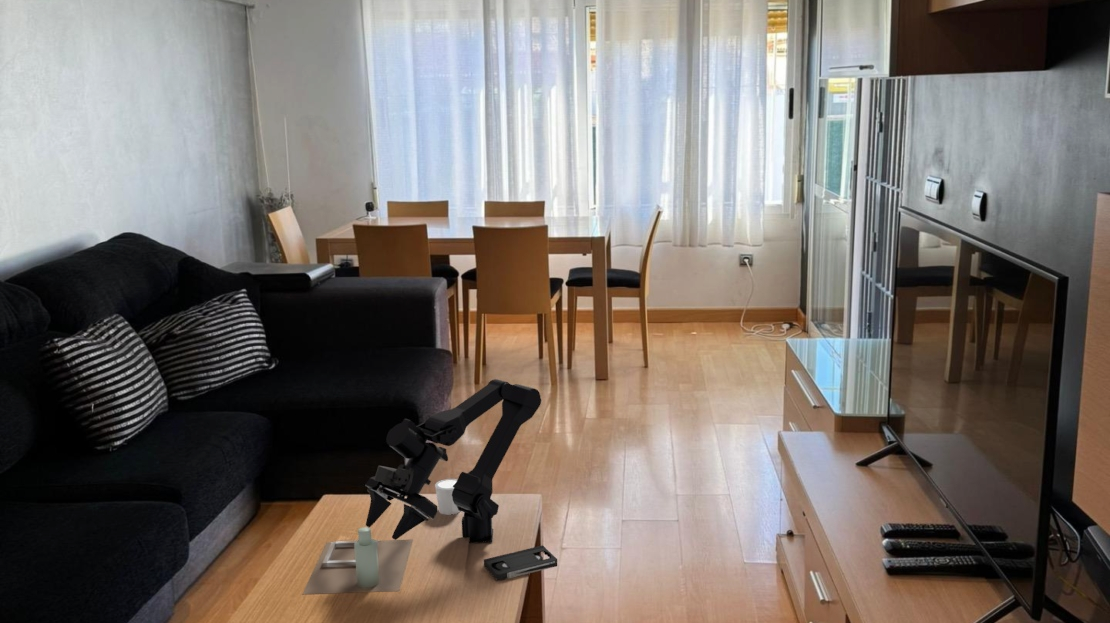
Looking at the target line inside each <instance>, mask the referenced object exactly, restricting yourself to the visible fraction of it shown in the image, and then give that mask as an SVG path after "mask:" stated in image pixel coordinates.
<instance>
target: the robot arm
mask: <svg viewBox="0 0 1110 623" xmlns="http://www.w3.org/2000/svg"><path fill="white" fill-rule="evenodd" d="M501 402H502V403H501ZM499 403H501V417H500V419H499V421H498V423H497V424H496V426H495V428H494V430H493V432H492V434H491V436H490V437H489V439H488V441H487V443H486V445H485V447H484V449H483V451H482V452H481V454H480V456H479V458H478V460H477V462H476V463H475V466H474V467H473V469H472V470H470V471H468V472H464V471H461V473H459V476H458V478H457V482H456V483H455V484H454V485H453V487H454V489H453V492H452V497H453V502H454V504H455V505H456V506H457V508H458V510H459V511H460V512H463V516H462V517H461V534H462V538H464V539H467V538H469V540H468V544H478V543H479V544H481V543H492V542H493V537H494V528H493V517H494V516H495V515H497V514H498V513H499V507H500V505H499V504H498V503H497V502H496V501H494V500H492V498H491V497H492V494H493V479H494V477H495V475H496V473H497V471H498V469H499V468H500V466H501V463H502V462H503V460H504V458H505V456H506V454H507V452H508V450H509V448H510V447H511V444H512V443H513V441H514V439H515V437H516V435H517V433H518V431H519V429H520V427H522V425H524V424H525V423H526V422H527V421H529V420H530V419H532V418H533V417H534V415H535V414H536V412H537V411H538V409H539V408H540V407H541V405H542V398H541V393H540V391H539V390H538V389H536V388H534V387H530V386H526V385H522V384H519V383H518V384H517V383H516V384H515V383H514V384H511V383H510V382H508V381H505V380H501V379H498V378H497V379H496V378H495V379H492V380H490V381H489V382H488V383H487V385H485V386H484V387H482V388H481V389H479V390H478V391H477V392H475V393H473V395H471V396H470V397H468V398H466V399H465V400H464V401H462V402H461V403H459V404H458V405H457V406H456V407H453V408H451V409H446V410H441V411H439V412H437V413H435V414H433V415H430V416H429V417H428V418H427V419H426V421H424V422H422V423H420V424H418V425H416V424H415V423H414V422H413V421H412V420H411V419H408V418H404V419H403V420H402V422H400V423H398V424H395V425H394V426H393V427H392V428H390V429H389V431H388V432H387V435H386V440H385V441H386V444H387V445H388V446H389V447H390V448H392V449H393V450H394V451H396V452H397V453H398V454H399V455H401V456H402V457H404V459H408V460H407V461H406V464H403V463H400V464H399V465H398V467H397V468H393V467H388V466H383V465H378V466H377V470H376V472H375V476H371V477H369V478H368V480H367V482H366V483H365V487H367V492H368V493H369V497H370V504H369V509H368V512H367V518H366V521H365V527H368V528H371V527H372V526H373V525H374V524H375V523H377V521H378V520H379V518H380V517H381V516H382V515H383V514H384V513H385V512H386V511H387V509H388V508H389V507H390V506H391V505H392V502H390V501H392V500H397V501H400V502H402V503H403V514H402V516H401V517H400V519H399V521H398V524H397V525H396V527H395V529H394V531H393V533H392V536H391V539H392V540H399V538H400V537H402V536H403V535H405V534H406V533H407V532H409V531H410V530H412V529H413V528H415V527H417V526H419V525H421V524H422V523H424V522H428V521H429V519H431V520H434V519H435V518H436V515H437V513H438V512H439V508H438V504H435V502H433V501H431V500H430V499H429V498H427V497H426V496H424V495H421V494H420V493H421V491H422V490H423V488H424V486H425V485H427V486H430V484H431V482H432V481H431V480H430V479H429V478H430V477H431V475H432V473H433V471H434V470H435V467H436V466H437V465H438V463H439V461H440V460H441V461H444V462H448V461H449V457H448V452H447V448H444V447H442V446H437V445H436V444H440V445H443V446H445V447H450V446H453V445H454V444H455V443H456V442H457V441H458V440H459V439H460V438H462V437H463V435H465V432H466V430H467V427H469V425H470V424H471V423H473V422H475V421H476V420H477V419H478V418H480V417H481V416H483V415H484V414H485V413H486V412H488V411H490V410H491V409H492V408H493V407H495V406H496V405H497V404H499ZM427 441H429V442H427Z"/></svg>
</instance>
